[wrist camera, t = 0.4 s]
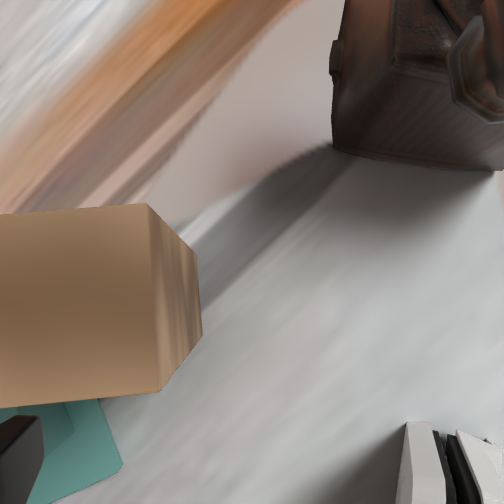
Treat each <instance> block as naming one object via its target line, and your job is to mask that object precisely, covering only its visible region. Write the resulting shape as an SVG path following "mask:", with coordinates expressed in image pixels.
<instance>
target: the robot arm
mask: <svg viewBox="0 0 504 504" xmlns="http://www.w3.org/2000/svg"><path fill="white" fill-rule="evenodd" d="M44 455H45V449H44V437H43V425H42V420H41V418H40V417H39V416H37V415H24V414H19V415H15V416H13V417H11V418H9V419H7V420H6V421H4V422H2V423H1V424H0V504H26V503H27V501H28V498H29V496H30V493H31V491H32V489H33V486H34V484H35V481H36V479H37V477H38V474H39V472H40V469H41V467H42V464H43V461H44Z"/></svg>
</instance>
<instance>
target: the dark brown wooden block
mask: <svg viewBox="0 0 504 504" xmlns="http://www.w3.org/2000/svg"><path fill="white" fill-rule="evenodd" d="M329 59H330V60H329V74H330V75H331V76H332V81H333V85H334V87H333V101H332V114H331V124H332V137H333V149H337V150H341V151H344V152H348V153H352V154H355V155H359V156H363V157H367V158H370V159H374V160H381V161H388V162H395V163H401V164H408V165H415V166H422V167H429V168H436V169H443V170H450V171H502V170H503V169H504V0H345V4H344V11H343V15H342V21H341V26H340V31H339V35H338V40H334V41H333V43H332V48H331V53H330V57H329Z"/></svg>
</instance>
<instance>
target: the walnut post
mask: <svg viewBox="0 0 504 504" xmlns="http://www.w3.org/2000/svg"><path fill="white" fill-rule="evenodd" d="M201 337H202V323H201V311H200V298H199V285H198V272H197V260H196V254H195V253H194V252H193V251H192V250H191V249H190V247H189V246H188V245H187V244H186V243H185V242H184V241H183V240H182V239H181V238H180V237H179V236H178V235H177V234H176V233H175V232H174V231H173V230H172V229H171V228H170V227H169V226H168V225H167V224H166V223H165V222H164V221H163V220H162V219H161V217H160V216H159V215H158V214H157V213H156V212H155V211H154V210H153V209H152V208H151V207H150V206H149V205H148V204H147V203H141V204H129V205H116V206H104V207H91V208H79V209H66V210H54V211H41V212H29V213H16V214H4V215H0V408H8V407H18V406H27V405H37V404H47V403H57V402H66V401H76V400H86V399H95V398H105V397H115V396H124V395H134V394H144V393H153V392H160V390H161V389H162V388H163V386H164V385H165V384H166V383H167V381H168V380H169V379H170V377H171V376H172V375H173V373H174V372H175V371H176V370H177V368H178V367H179V366H180V364H181V363H182V362H183V360H184V359H185V358H186V357H187V355H188V354H189V353H190V351H191V350H192V349H193V347H194V346H195V345H196V344H197V342H198V341H199V340H200V338H201Z"/></svg>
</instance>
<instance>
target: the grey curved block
mask: <svg viewBox="0 0 504 504" xmlns="http://www.w3.org/2000/svg"><path fill="white" fill-rule="evenodd" d="M503 453H504V451H503V449H502V448H501V447H500V446H499V445H498V444H497V443H496V442H495V441H492V440H490V439H487V438H486V442H484V441H482V440H480V439H477V438H475V437H473V436H471V435H468V434H466V433H464V432H462V431H459V430H457V429H456V435H455V436H453V435H449V434H447V442H446V450H445V453H444V450H443V446H442V443H441V440H440V436H439V433H438V431H434V430H432V429H431V425H430V422H407V423H406V430H405V436H404V443H403V450H402V457H401V464H400V471H399V478H398V485H397V492H396V499H395V504H504V485H503V483H502V481H501V479H500V478H501V470H502V461H503Z"/></svg>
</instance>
